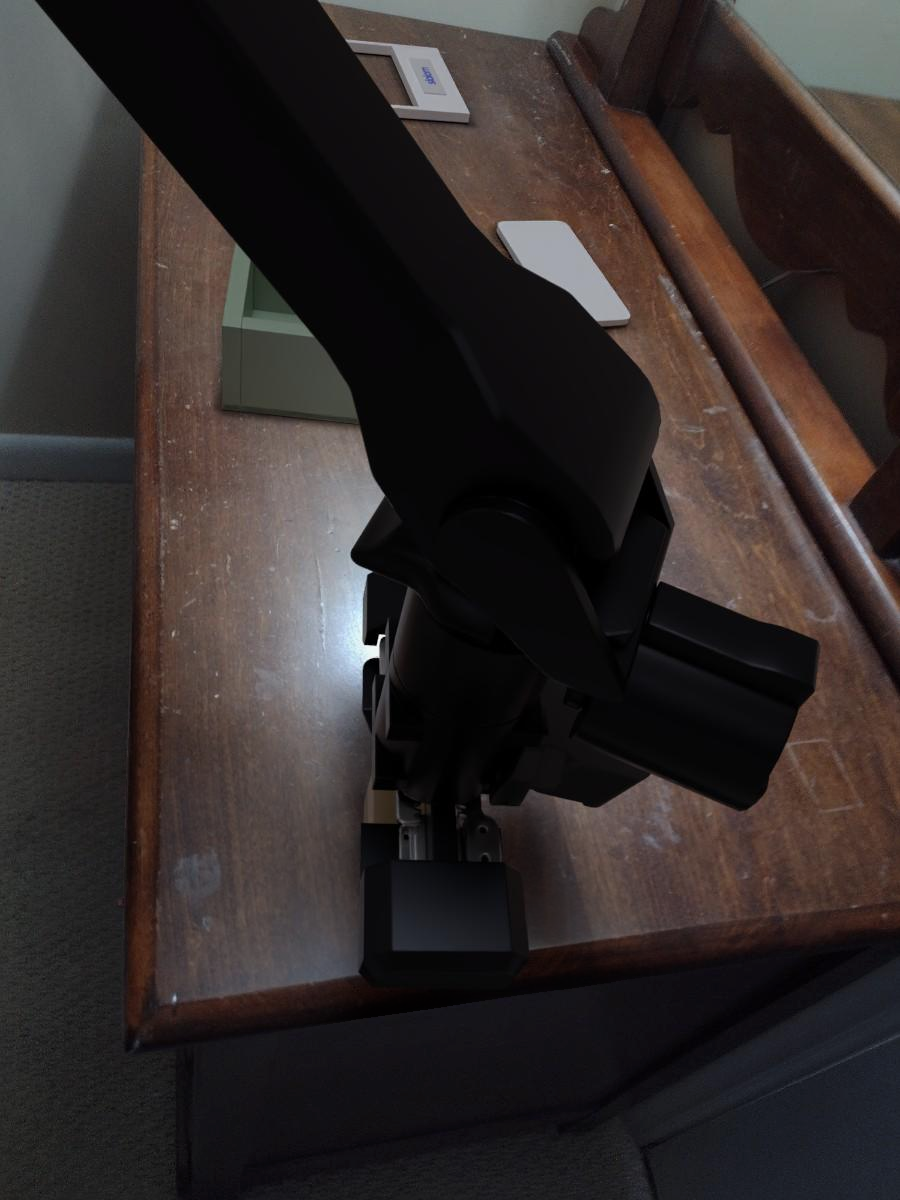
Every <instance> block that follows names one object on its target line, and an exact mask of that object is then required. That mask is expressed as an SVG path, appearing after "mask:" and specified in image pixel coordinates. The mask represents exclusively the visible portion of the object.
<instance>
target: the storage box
mask: <svg viewBox="0 0 900 1200" xmlns="http://www.w3.org/2000/svg"><path fill="white" fill-rule="evenodd" d="M231 260H232V261H231V266H230V273H229V279H228V285H227V291H226V296H225V301H224V302H225V304H224V308H223V315H222V321H221V403H222V404H221V406H222V407H221V408H222V410H225V411H235V412H244V413H245V412H246V413H254V414H262V415H263V414H264V415H272V416H284V417H290V418H291V417H292V418H300V419H310V420H318V421H327V422H337V423H347V424H353V425H354V424H355V425H359V423H358V419H357V415H356V411H355V407H354V403H353V399H352V395H351V392H350V390H349V388H348V386H347V384H346V382H345V381H344V379H343V378H342V376H341V374H340V373H339V371H338V370H337V368H336V367H335V365H334V363H333V362H332V360H331V359H330V357H329V356H328V354H327V352H326V351H325V350H324V348H323V347H322V346H321V344H320V343H319V342H318V341H317V340H316V338H315V337H314V336H313V335H312V334H311V332H310V331H309V330H308V329H307V328H306V326H305V325H304V324H303V323H302V322H301V320H300V319H299V318H298V317H297V316H296V314H295V313H294V312H293V311H292V310H291V308H290V307H289V306H288V305H287V304H286V302H285V301H284V300H283V299H282V298H281V296H280V295H279V294H278V293H277V291H276V290H275V289H274V288H273V287H272V285H271V284H270V283H269V282H268V281H267V279H266V278H265V277H264V276H263V275H262V273H261V272H260V271H259V270H258V269H257V267H256V266H255V265H254V264H253V263H252V261H251V260H250V259H249V258H248V257H247V255H246V254H245V253H244V252H243V251H242V249H241V248H240V247H239V246H238V245H237V243H236V242H235V241H234V249H233V253H232V259H231Z"/></svg>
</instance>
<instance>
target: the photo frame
mask: <svg viewBox="0 0 900 1200" xmlns="http://www.w3.org/2000/svg"><path fill="white" fill-rule="evenodd" d="M344 39H345V40H346V42H347V43H348V44H349V46H350V47H351V49H352V50H353V52H354V53H362V54H370V55H371V54H374V55H382V56H383V55H384V56H390V57H391V59H392V61H393V63H394V66H395V68H396V71H397V72H398V75H399V77H400V79H401V81H402V84H403V86H404V88H405V91H406V93H407V95H408V97H409V100H410V102H411V104H412V105H404V104H403V105H400V104H390V105H391V106H392V108H393V109H394V111H395V112H396V114H397V115H398V117H399V118H400V119H414V120H427V121H439V122H455V123H469V121H470V116H471V112H470V110H469V109H468V106H467V105H466V103H465V101H464V98H463V96H462V95H461V93H460V91H459V89H458V87H457V85H456V83H455V81H454V79H453V77H452V75H451V72H450V70H449V69H448V67H447V65H446V63H445V61H444V58H443V57H442V55H441V53H440V51H439V49H438V47H429V46H419V45H407V44H398V43H390V42H389V43H387V42H376V41H366V40H357V39H347V38H344Z"/></svg>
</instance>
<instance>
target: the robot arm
mask: <svg viewBox="0 0 900 1200" xmlns="http://www.w3.org/2000/svg"><path fill="white" fill-rule="evenodd" d="M34 2H35V3H36V4H37V5H38V7H39V8H40V9H41V10H42V12H44V14H45V15H46V16H47V18H48V19H49V20H50V21H51V23H52V24H54V26H55V27H56V28H57V29H58V31H59V32H60V33H61V34H62V35H63V36H64V38H65V39H66V40H67V42H68V43H69V44H70V45H71V47H72V48H73V49H74V50H75V51H76V53H78V55H79V56H80V57H81V59H82V60H83V61H84V62H85V63H86V64H87V66H88V67H89V68H90V69H91V70H92V71H93V73H94V74H95V76H97V77H98V79H99V81H101V82H102V84H103V85H104V86H105V87H106V88H107V90H108V91H109V92H110V93H111V94H112V95H113V97H114V98H115V99H116V101H118V103H119V104H120V105H121V106H122V108H123V109H124V110H125V111H126V113H127V114H128V115H129V116H130V117H131V119H132V120H133V121H134V122H135V123H136V125H137V126H138V127H139V128H140V129H141V131H142V132H143V133H144V134H145V135H146V137H147V138H148V139H149V140H150V142H152V144H153V145H154V146H155V147H156V148H157V149H158V151H159V152H160V153H161V155H162V156H163V157H164V158H165V159H166V160H167V162H168V163H169V164H170V165H171V167H172V168H173V169H174V171H175V172H177V174H178V175H179V176H180V177H181V179H182V180H183V181H184V182H185V183H186V185H187V186H188V187H189V188H190V190H191V191H192V192H193V193H194V194H195V195H196V197H197V198H198V199H199V200H200V201H201V203H202V204H203V205H204V206H205V208H206V209H207V210H208V211H209V212H210V214H211V215H212V216H213V217H214V218H215V219H216V220H217V222H218V223H219V224H220V226H221V227H222V228H223V229H224V230H225V232H226V233H227V235H229V236H230V238H231V239H232V240H233V241H234V243H235V242H236V243H237V245H238V246H239V247H240V248H241V249H242V251H243V252H244V253H245V254H246V255H247V257H248V258H249V259H250V260H251V261H252V263H253V264H254V265H255V266H256V267H257V269H258V270H259V271H260V272H261V273H262V275H263V276H264V277H265V278H266V279H267V281H268V282H269V283H270V284H271V285H272V287H273V288H274V289H275V290H276V291H277V293H278V294H279V295H280V296H281V298H282V299H283V300H284V301H285V302H286V304H287V305H288V306H289V307H290V308H291V310H292V311H293V312H294V313H295V314H296V316H297V317H298V318H299V319H300V320H301V322H302V323H303V324H304V325H305V326H306V328H307V329H308V330H309V331H310V332H311V334H312V335H313V336H314V337H315V338H316V340H317V341H318V342H319V343H320V344H321V346H322V347H323V348H324V350H325V351H326V352H327V354H328V356H329V357H330V359H331V360H332V362H333V363H334V365H335V367H336V368H337V370H338V371H339V373H340V374H341V376H342V378H343V379H344V381H345V382H346V384H347V386H348V388H349V390H350V392H351V395H352V399H353V403H354V407H355V411H356V415H357V419H358V423H359V424H358V427H359V430H360V434H361V438H362V439H361V440H362V443H363V446H364V450H365V454H366V458H367V463H368V466H369V470H370V473H371V476H372V478H373V480H374V481H375V483H376V484H377V486H378V488H379V489H380V491H381V492H382V493H383V495H384V496H383V498H382V499H381V500H380V502H379V504H378V506H377V508H376V509H375V511H374V513H373V514H372V516H371V517H370V519H369V521H368V522H367V523H366V525H365V527H364V529H363V530H362V531H361V533H360V535H359V537H358V538H357V540H356V542H355V543H354V545H353V546H352V548H351V550H350V551H349V554H350V555H349V557H350V560H352V562H353V563H354V564H355V565H357V566H358V567H360V568H362V569H365V570H368V571H370V572H369V573H368V574H366V578H365V584H364V590H363V593H362V594H363V595H362V629H361V630H362V634H361V637H362V638H361V641H362V644H363V646H370V647H377V646H378V657H371V658H368V659H367V660H366V661H365V662H364V663H363V665H362V675H361V676H362V680H361V681H362V683H361V685H362V687H361V713H362V715H363V717H364V720H365V722H366V725H367V728H368V730H369V733H370V735H371V774H372V790H389V791H396V821H397V823H398V824H383V823H364V822H361V823H360V837H359V838H360V839H359V840H360V847H359V852H360V853H359V856H360V857H359V880H360V888H359V898H358V899H359V900H358V935H357V936H358V937H357V938H358V943H357V945H358V946H357V947H358V949H357V973H358V974H359V975H360V977H361V978H362V979H363V980H364V981H365V982H366V983H367V984H368V985H369V986H370V987H371V988H372V989H488V990H489V989H492V990H493V989H496V990H497V989H502V990H503V989H507V987H509V985H510V984H511V983H512V982H513V981H514V980H515V978H516V977H517V976H518V974H519V973H520V972H521V971H522V970H523V969H524V967H525V966H527V964H528V963H529V962H530V960H531V952H530V951H531V950H530V941H529V933H528V922H527V921H528V920H527V911H526V902H525V901H526V900H525V890H524V880H523V871H522V870H521V869H518V868H516V867H515V866H513V865H511V864H509V863H507V862H505V861H504V851H503V840H502V839H503V837H502V829H501V827H500V826H499V824H498V823H497V820H496V819H494V818H493V817H492V816H491V815H489V814H487V813H485V812H484V811H483V806H482V805H483V804H482V795H488V801H489V805H490V806H492V807H515V808H517V807H518V808H519V807H521V806H522V804H523V802H524V800H525V798H526V797H527V795H528V793H529V791H534V792H536V793H538V794H541V795H544V796H545V795H546V796H550V797H554V798H559V799H563V800H568V801H572V802H577V803H580V804H582V805H583V806H584V807H587V808H592V809H593V808H594V809H598V808H601V807H602V806H604V805H606V804H607V803H609V802H610V801H612V800H613V799H615V798H617V797H619V796H620V795H621V794H623V793H625V792H627V791H628V790H630V789H632V788H633V787H635V786H637V785H638V784H640V783H641V782H643V781H644V780H646V779H648V778H649V777H650V776H651V775H652V776H655V777H657V778H660V779H662V780H664V781H666V782H668V783H672V784H673V785H676V786H678V787H681V788H682V789H685V790H688V791H690V792H693V793H694V794H697V795H698V796H701V797H704V798H706V799H708V800H710V801H712V802H716V803H718V804H720V805H723V806H724V807H726V808H730V809H732V810H734V811H737V812H739V813H740V812H744V811H745V812H746V811H747V810H749V809H751V808H752V807H754V806H755V805H756V804H757V803H758V802H759V801H760V800H761V799H762V798H763V797H764V796H765V794H766V792H767V789H768V787H769V783H770V782H769V781H770V777H771V774H772V772H773V770H774V769H775V767H776V765H777V763H778V762H779V760H780V758H781V756H782V754H783V751H784V749H785V747H786V745H787V743H788V740H789V738H790V736H791V734H792V731H793V728H794V725H795V722H796V720H797V716H798V714H799V710H800V708H801V707H802V706H803V705H804V704H806V702H807V701H808V700H809V699H810V698H811V697H812V696H813V695H814V693H815V691H816V686H817V680H818V679H817V678H818V671H819V664H820V663H819V662H820V655H821V644H820V642H819V640H818V639H816V638H813V637H811V636H809V635H805V634H803V633H801V632H798V631H796V630H793V629H791V628H788V627H785V626H782V625H780V624H775V623H770V622H766V621H761V620H758V619H756V618H753V617H749V616H747V615H745V614H743V613H740V612H737V611H735V610H733V609H730V608H728V607H726V606H723V605H721V604H719V603H716V602H713V601H711V600H709V599H706V598H704V597H701V596H698V595H696V594H693V593H691V592H689V591H686V590H684V589H682V588H679V587H677V586H675V585H672V584H670V583H667V582H665V581H663V580H660V577H661V573H662V569H663V567H664V563H665V559H666V556H667V554H668V553H667V552H668V549H669V546H670V543H671V539H672V536H673V533H674V529H675V525H676V522H675V518H674V516H673V513H672V511H671V508H670V504H669V502H668V499H667V496H666V493H665V491H664V487H663V485H662V481H661V479H660V475H659V472H658V469H657V467H656V464H655V461H654V458H653V454H654V451H655V450H656V449H655V448H656V445H657V443H658V440H659V437H660V428H661V426H662V425H661V424H662V414H661V409H660V408H661V406H660V401H659V400H658V399H659V398H658V397H657V395H656V392H655V390H654V388H653V385H652V383H651V381H650V379H649V378H648V376H646V374H645V373H644V372H643V370H642V369H641V368H640V367H639V365H638V364H637V363H636V362H635V361H634V360H633V359H632V358H631V357H630V355H629V354H628V353H627V352H626V351H625V350H624V349H623V348H622V347H621V346H620V345H619V344H618V342H616V340H615V339H614V338H613V337H612V336H611V335H610V334H609V333H608V332H607V330H606V329H604V327H603V326H601V325H600V324H599V323H598V322H597V321H596V320H595V319H594V318H593V317H592V316H591V315H590V314H589V313H588V311H587V310H586V309H585V308H584V307H583V306H582V305H581V304H580V303H579V302H578V301H577V300H576V299H575V297H574V296H573V295H572V294H570V293H569V292H568V291H566V290H565V289H563V288H561V287H559V286H558V285H556V284H554V283H552V282H550V281H548V280H546V279H545V278H543V277H541V276H539V275H537V274H535V273H534V272H532V271H530V270H528V269H526V268H524V267H523V266H521V265H519V264H517V263H516V262H515V261H514V260H512V259H509V258H508V257H507V256H506V255H504V254H503V253H502V252H501V251H500V250H499V249H498V248H497V247H496V245H494V244H493V242H492V241H491V240H490V239H489V238H488V237H487V236H486V235H485V234H484V233H483V232H482V230H480V229H479V228H478V227H477V226H476V224H475V223H474V222H473V221H472V220H471V218H470V217H469V216H468V214H467V213H466V211H465V210H464V209H463V207H462V206H461V204H460V202H458V199H456V197H455V195H454V194H453V193H452V191H451V190H450V189H449V187H448V186H447V184H446V183H445V181H444V180H443V178H442V177H441V175H440V174H439V173H438V171H437V170H436V169H435V167H434V165H433V164H432V163H431V161H430V160H429V159H428V157H427V155H426V154H425V152H424V150H422V148H421V147H420V145H419V144H418V142H417V141H416V139H415V138H414V136H413V135H412V134H411V132H410V131H409V130H408V128H407V126H406V125H405V123H404V122H403V121H402V118H399V117H398V115H397V114H396V112H395V111H394V109H393V108H392V106H391V105H392V104H391V103H390V101H388V99H387V98H386V96H385V95H384V93H383V92H382V90H381V89H380V88H379V86H378V85H377V84H376V82H375V80H374V79H373V78H372V76H371V75H370V73H369V72H368V70H367V69H366V68H365V66H364V64H363V63H362V61H361V60H360V58H359V57H358V56H357V55H356V52H353V50H352V49H351V47H350V46H349V44H348V43H347V42H346V40H345V39H346V38H344V36H343V34H342V33H341V32H340V29H338V27H337V25H335V23H334V22H333V20H332V19H331V17H330V16H329V14H328V13H327V11H326V10H325V8H324V7H323V5H322V3H321V2H320V1H319V0H34ZM380 636H382V637H381V638H380ZM379 638H380V640H379ZM378 643H379V644H378ZM421 803H424V809H425V814H421V813H422V810H421V809H418V808H416V807H420V806H421ZM455 805H456V806H455ZM456 809H457V810H460V811H457V815H456ZM461 820H462V824H461Z"/></svg>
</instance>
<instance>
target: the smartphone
mask: <svg viewBox="0 0 900 1200" xmlns="http://www.w3.org/2000/svg"><path fill="white" fill-rule="evenodd" d="M496 233H497V235H498V237H499V238H500V240H501V242H502V243H503V245H504V246H505V248H506V249H507V251H508V253H509V254H510V256H511V258H512V260H513V262H515V263H517V264H519V265H521V266H523V267H524V268H526V269H528V270H530V271H532V272H534V273H535V274H537V275H539V276H541V277H543V278H545V279H546V280H548V281H550V282H552V283H554V284H556V285H558V286H559V287H561V288H563V289H565V290H566V291H568V292H569V293H570V294H572V295H573V296H574V297H575V299H576V300H577V301H578V302H579V303H580V304H581V305H582V306H583V307H584V308H585V309H586V310H587V311H588V313H589V314H590V315H591V316H592V317H593V318H594V319H595V320H596V321H597V322H598V323H599V324H600V325H601V327H615V326H625V325H627V324H628V323H629V321H630V319H631V312H630V311H629V309H628V308H627V307H626V305H625V304H624V302H623V301H622V300H621V298H620V296H619V295H618V294H617V292H616V291H615V290H614V288H613V287H612V285H611V284H610V283H609V281H608V279H607V278H606V277H605V275H604V274H603V272H602V271H601V270H600V268H599V266H598V265H597V264H596V263H595V261H594V259H593V258H592V257H591V255H590V254H589V252H588V251H587V250H586V248H585V247H584V245H583V244H582V242H581V241H580V239H579V238H578V237H577V236H576V234H575V232H574V231H573V229H572V228H571V227H570V225H569V224H568V223H566V222H564V221H563V220H503V221H499V222H498V223H497V227H496Z"/></svg>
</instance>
